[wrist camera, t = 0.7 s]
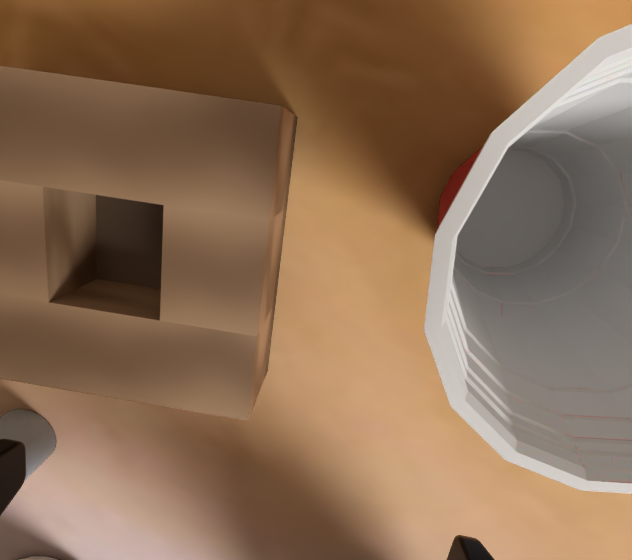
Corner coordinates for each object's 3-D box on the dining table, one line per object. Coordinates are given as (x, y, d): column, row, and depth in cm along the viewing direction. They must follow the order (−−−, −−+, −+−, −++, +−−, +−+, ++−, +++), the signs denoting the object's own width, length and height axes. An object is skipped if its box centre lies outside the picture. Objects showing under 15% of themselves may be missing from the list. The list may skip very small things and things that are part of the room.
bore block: (267, 371, 23) (247, 421, 18) (36, 332, 23) (-35, 372, 19) (297, 117, 19) (281, 105, 15) (21, 77, 19) (-73, 55, 15)
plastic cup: (398, 337, 22) (451, 542, 10) (368, 116, 19) (393, 53, 7) (624, 307, 20) (982, 506, 9) (629, 64, 17) (1170, -115, 6)
